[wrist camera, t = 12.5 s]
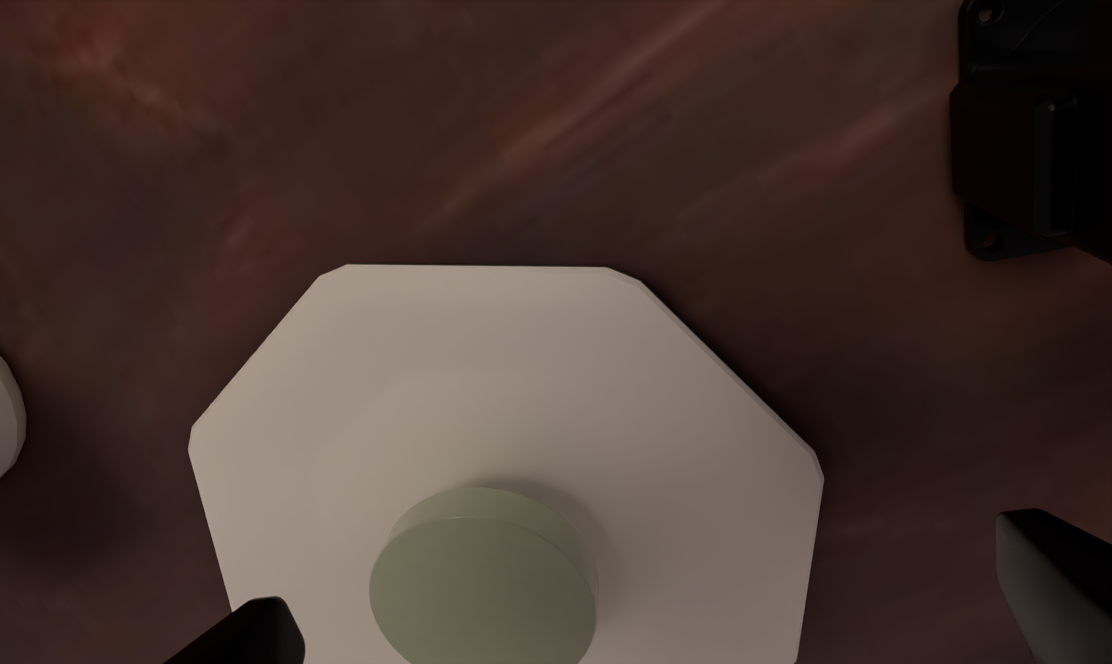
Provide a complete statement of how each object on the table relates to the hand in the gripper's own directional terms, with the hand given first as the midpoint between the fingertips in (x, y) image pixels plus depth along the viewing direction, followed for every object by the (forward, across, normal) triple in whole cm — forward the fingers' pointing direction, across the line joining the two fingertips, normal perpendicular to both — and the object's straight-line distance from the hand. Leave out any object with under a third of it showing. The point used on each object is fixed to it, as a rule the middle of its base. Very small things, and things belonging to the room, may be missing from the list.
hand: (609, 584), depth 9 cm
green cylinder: (+10, +6, +8) cm, 14 cm away
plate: (+12, +6, +8) cm, 16 cm away
